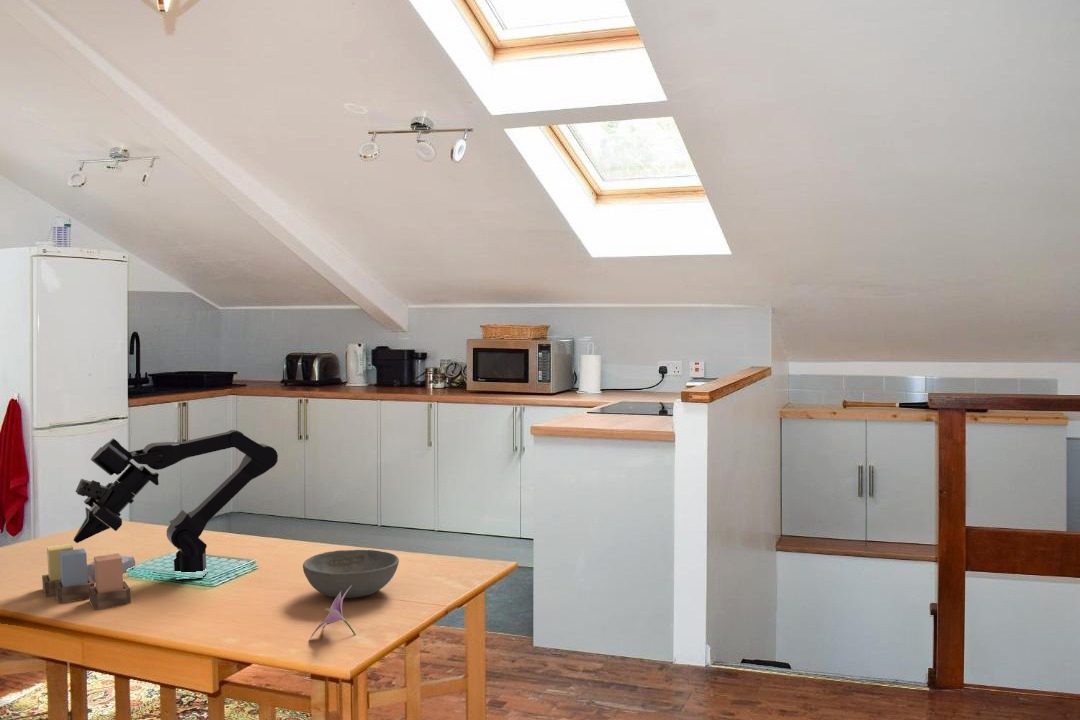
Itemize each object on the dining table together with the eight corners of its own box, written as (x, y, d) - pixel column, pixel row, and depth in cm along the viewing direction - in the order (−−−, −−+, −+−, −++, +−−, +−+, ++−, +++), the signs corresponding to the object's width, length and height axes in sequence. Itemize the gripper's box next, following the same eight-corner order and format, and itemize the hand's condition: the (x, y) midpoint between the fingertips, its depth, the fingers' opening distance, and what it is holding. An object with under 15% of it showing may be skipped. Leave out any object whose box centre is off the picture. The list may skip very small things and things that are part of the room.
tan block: (120, 586, 211) (118, 553, 210) (123, 591, 206) (121, 557, 206) (95, 590, 208) (93, 556, 208) (98, 595, 204) (96, 561, 203)
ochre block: (72, 574, 221) (70, 543, 221) (74, 579, 217) (73, 547, 217) (48, 578, 219) (46, 546, 218) (50, 583, 214) (48, 550, 214)
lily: (349, 625, 191) (324, 587, 190) (386, 612, 185) (360, 572, 184) (312, 662, 181) (285, 622, 180) (349, 650, 175) (322, 608, 174)
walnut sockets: (114, 577, 227) (113, 564, 227) (130, 603, 206) (130, 589, 206) (42, 588, 219) (42, 575, 219) (52, 617, 198) (51, 602, 198)
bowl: (297, 588, 215) (295, 554, 214) (386, 576, 223) (385, 543, 222) (313, 615, 195) (311, 577, 195) (410, 600, 203) (409, 564, 203)
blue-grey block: (85, 580, 216) (83, 548, 215) (88, 585, 212) (86, 552, 211) (61, 584, 213) (59, 551, 213) (63, 589, 209) (61, 556, 209)
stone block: (73, 588, 226) (109, 581, 224) (69, 568, 226) (105, 561, 224) (105, 575, 238) (140, 569, 236) (101, 557, 238) (136, 550, 236)
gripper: (92, 461, 222) (42, 512, 217) (104, 471, 206) (49, 527, 201) (129, 490, 227) (80, 541, 221) (143, 502, 211) (91, 558, 206)
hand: (75, 541), depth 212 cm, fingers closed
